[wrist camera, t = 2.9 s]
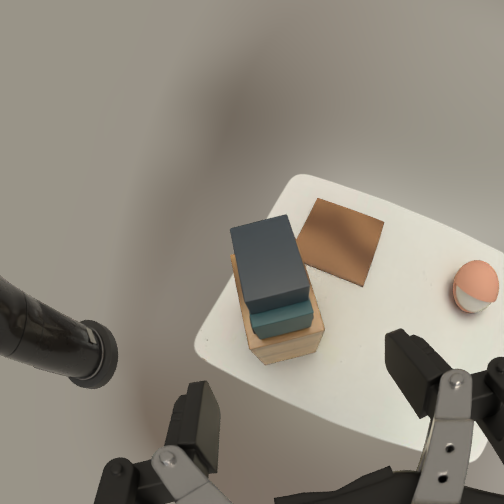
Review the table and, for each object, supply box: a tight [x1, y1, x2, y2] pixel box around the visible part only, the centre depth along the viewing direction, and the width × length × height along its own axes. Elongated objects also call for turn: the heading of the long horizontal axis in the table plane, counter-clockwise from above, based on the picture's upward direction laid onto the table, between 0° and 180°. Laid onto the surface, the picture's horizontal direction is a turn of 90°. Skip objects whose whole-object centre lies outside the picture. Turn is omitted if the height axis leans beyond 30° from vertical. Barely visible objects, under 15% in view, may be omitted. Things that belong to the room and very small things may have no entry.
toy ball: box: [453, 260, 499, 313], centre depth 31 cm, size 8×8×8 cm
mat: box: [297, 198, 384, 287], centre depth 43 cm, size 12×12×1 cm
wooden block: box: [231, 238, 325, 365], centre depth 32 cm, size 10×7×13 cm
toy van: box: [230, 215, 314, 340], centre depth 23 cm, size 9×5×8 cm, turn 11°
